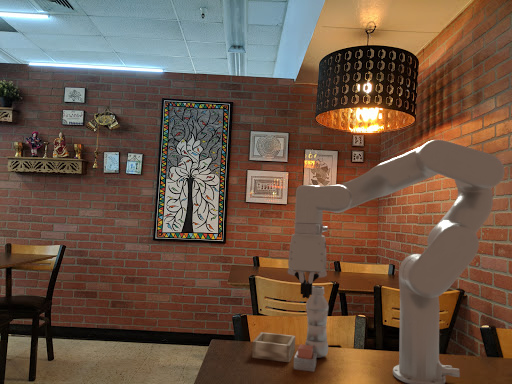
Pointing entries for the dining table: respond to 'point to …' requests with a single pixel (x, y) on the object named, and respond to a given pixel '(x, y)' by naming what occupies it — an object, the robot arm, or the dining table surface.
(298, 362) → the button housing
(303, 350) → the button
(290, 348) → the bottle caddy
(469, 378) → the dining table surface
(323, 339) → the plastic bottle
